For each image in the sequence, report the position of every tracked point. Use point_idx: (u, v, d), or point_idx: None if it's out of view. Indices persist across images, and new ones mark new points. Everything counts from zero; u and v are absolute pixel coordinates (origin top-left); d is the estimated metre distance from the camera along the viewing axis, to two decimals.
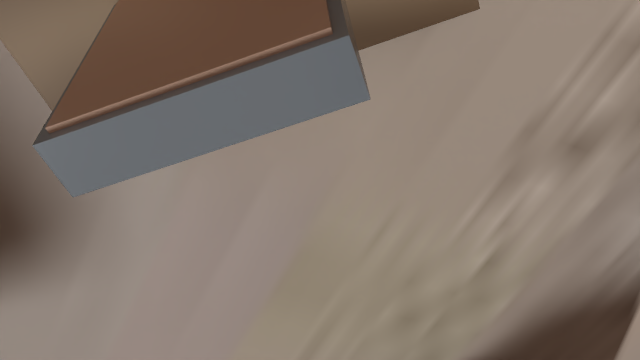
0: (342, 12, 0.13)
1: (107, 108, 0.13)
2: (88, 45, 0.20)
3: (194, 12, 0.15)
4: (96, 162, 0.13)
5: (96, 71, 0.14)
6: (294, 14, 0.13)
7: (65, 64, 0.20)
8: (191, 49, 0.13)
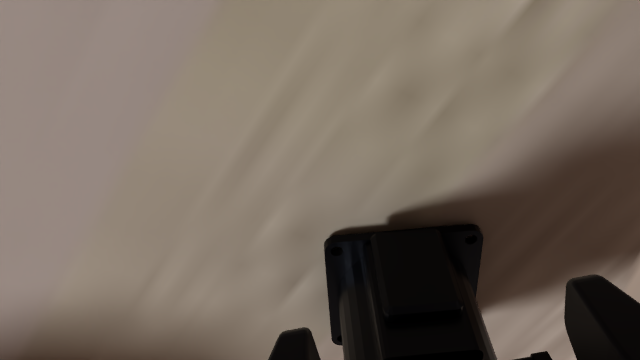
0: None
1: None
2: None
3: None
4: None
5: None
6: None
7: None
8: None
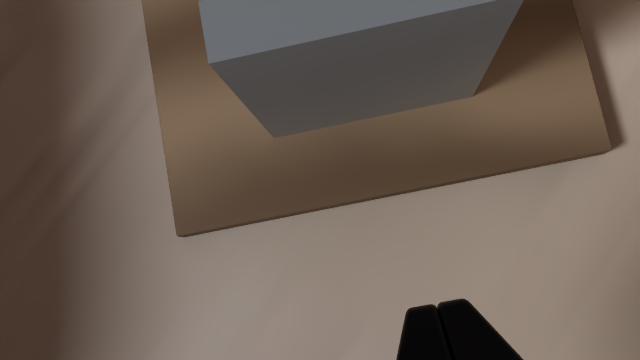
0: None
1: None
2: (230, 130, 0.21)
3: None
4: (247, 26, 0.13)
5: None
6: None
7: (202, 145, 0.21)
8: None
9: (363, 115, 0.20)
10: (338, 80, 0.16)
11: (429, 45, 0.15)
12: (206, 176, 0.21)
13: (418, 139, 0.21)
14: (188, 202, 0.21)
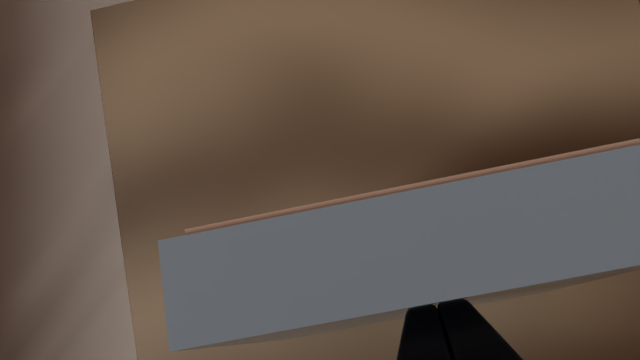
0: None
1: (284, 212, 0.08)
2: None
3: None
4: (235, 289, 0.08)
5: None
6: None
7: None
8: None
9: (404, 317, 0.15)
10: (377, 318, 0.11)
11: (525, 290, 0.09)
12: None
13: None
14: None
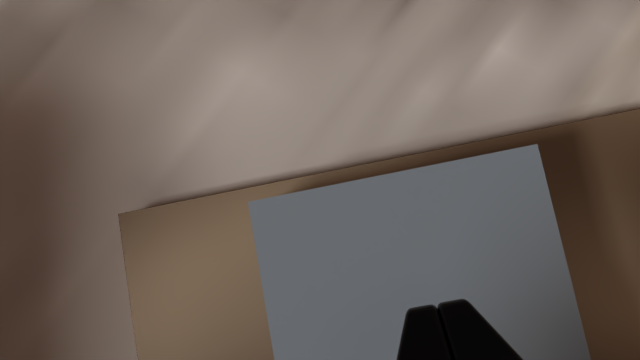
0: None
1: None
2: None
3: None
4: None
5: None
6: None
7: None
8: None
9: None
10: (382, 309, 0.14)
11: (471, 237, 0.14)
12: None
13: None
14: None
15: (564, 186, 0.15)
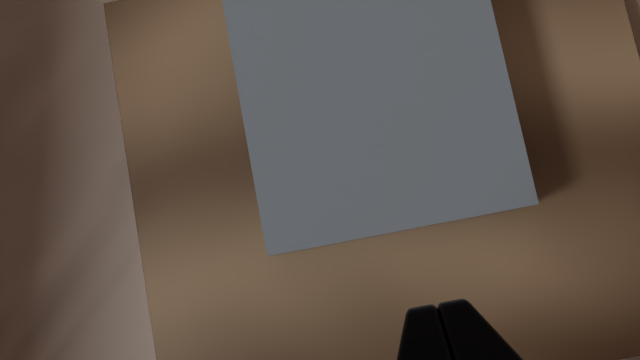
0: None
1: None
2: (234, 302, 0.17)
3: None
4: None
5: None
6: None
7: (199, 320, 0.17)
8: None
9: (385, 210, 0.15)
10: (333, 54, 0.16)
11: None
12: None
13: None
14: None
15: None
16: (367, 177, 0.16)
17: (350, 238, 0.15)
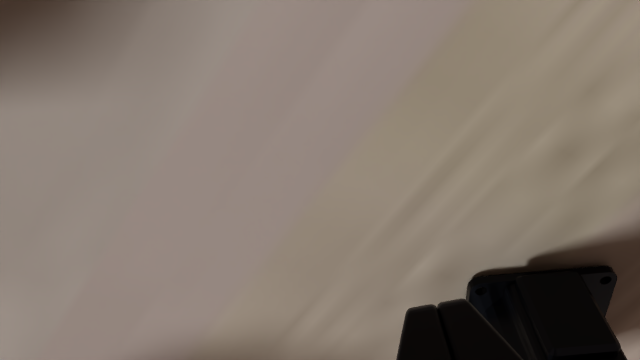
0: None
1: None
2: None
3: None
4: None
5: None
6: None
7: None
8: None
9: None
10: None
11: None
12: None
13: None
14: None
15: None
16: None
17: None
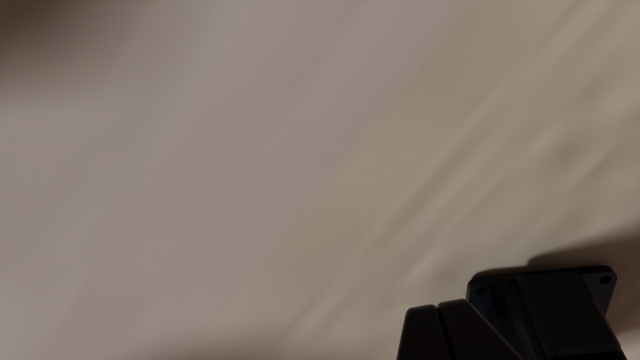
0: None
1: None
2: None
3: None
4: None
5: None
6: None
7: None
8: None
9: None
10: None
11: None
12: None
13: None
14: None
15: None
16: None
17: None
